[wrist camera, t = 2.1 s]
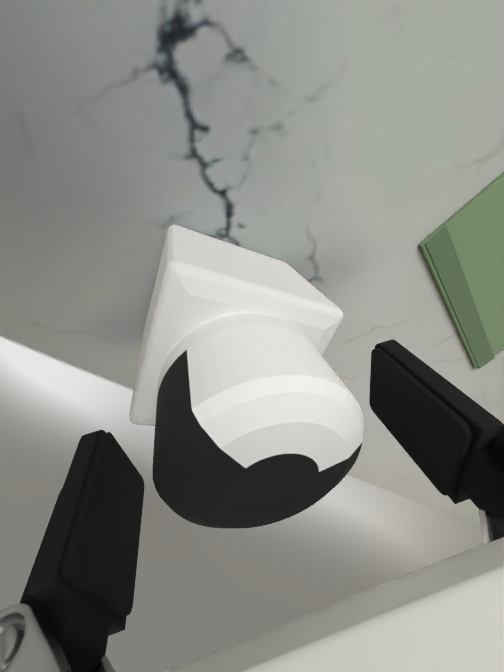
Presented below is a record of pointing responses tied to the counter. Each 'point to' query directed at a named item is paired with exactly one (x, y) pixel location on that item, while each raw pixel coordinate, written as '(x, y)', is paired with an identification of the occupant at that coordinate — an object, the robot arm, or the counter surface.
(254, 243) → the counter surface
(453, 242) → the napkin
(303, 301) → the medicine bottle
